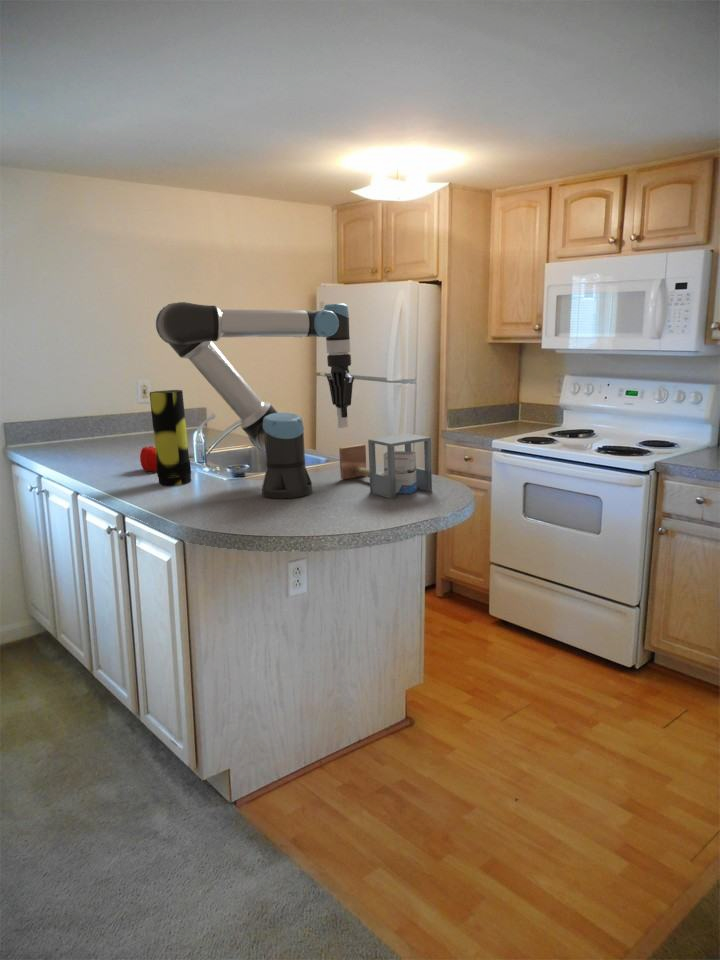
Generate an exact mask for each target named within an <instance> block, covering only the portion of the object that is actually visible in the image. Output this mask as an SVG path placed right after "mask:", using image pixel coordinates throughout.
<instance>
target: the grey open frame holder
mask: <svg viewBox="0 0 720 960" xmlns="http://www.w3.org/2000/svg"><path fill="white" fill-rule="evenodd" d="M422 442H423V446H424V447H423V448H424V449H423V450H424V454H423V455H424V468H423V467H418V466H416V480H417V489H419V490H423V491H427V492H432V491H433V488H432V487H433V484H432V483H433V480H432V478H433V477H432V476H433V475H432V474H433V473H432V470H433V469H432V437H431V436H424V435H419V434H413V433H401V434H395V435H387V436H382V437H380V436H379V437H376V438H375V437H374V438H369V439H367V445H368V465H369V468H368V469H369V471H370V478H369V491H370V492H369V493H371V494H375V495H378V496H382V497H385V498H388V499H392V500H395V499H396V498H397V497H396V496H397V493H396V487H395V456H394V451H395V447H397V446H403V445H404V452H412V444H416V443H422ZM376 445H381V446H385V447H387V448H386V449H387V452H388V476H387V475H383V474H380V473H381V472H380V473H376V471H377V467H376V466H377V464H376V463H377V462H376V461H377V460H376Z"/></svg>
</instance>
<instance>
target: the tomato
mask: <svg viewBox="0 0 720 960" xmlns="http://www.w3.org/2000/svg"><path fill="white" fill-rule="evenodd" d="M139 461H140V466H141V468H142V469H143V470H144V471H146V472H152V473H157V466H156V463H157V459H156V450H155V446H143V447H142V449H141V451H140V453H139Z"/></svg>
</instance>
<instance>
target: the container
mask: <svg viewBox="0 0 720 960" xmlns="http://www.w3.org/2000/svg"><path fill="white" fill-rule="evenodd" d="M148 393H149V400H150V401H149V403H150V409H151V411H150V413H151V420H152V430H153V438H154V439H153V440H154V448H155V450H156V459H157V463H156V466H157V471H156V475H157V478H158V484H159V485H160V486H162V487H178V486H184V485H188V484H189V483H190V482H192V475H191V474H192V471H191V470H192V468H191V459H190V454H189V445H188V443H189V442H188V432H187V425H186V424H187V423H186V416H185V415H186V414H185V404H184V394H183V390H182V389H168V390H165V389H164V390H155V391H150V392H148Z"/></svg>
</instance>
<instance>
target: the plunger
mask: <svg viewBox="0 0 720 960" xmlns="http://www.w3.org/2000/svg"><path fill="white" fill-rule="evenodd" d="M338 449H339V469H340V470H339V471H340V480H348V479H352V478H353V479H354V478H358V477H366V478H369V479H370V471H369V468H367V453H366V451H367V450H366V444H364V443H363V444H362V443H360V444H355V445H350V446H344V447H343V446H342V447H339V448H338ZM376 473H380V474H383V475H384V473H383V472H379V471H377V470H376Z"/></svg>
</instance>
